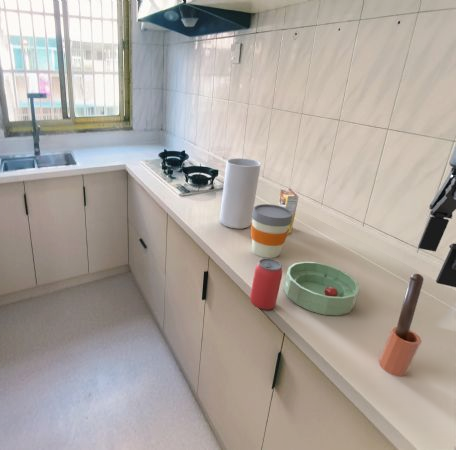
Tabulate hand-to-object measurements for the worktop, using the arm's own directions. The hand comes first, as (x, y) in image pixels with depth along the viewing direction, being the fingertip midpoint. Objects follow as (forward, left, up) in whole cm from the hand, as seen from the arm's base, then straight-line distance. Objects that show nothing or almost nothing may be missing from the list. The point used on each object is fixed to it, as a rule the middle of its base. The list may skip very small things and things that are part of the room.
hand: (435, 265), depth 60 cm
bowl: (+15, -20, -25) cm, 35 cm away
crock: (0, 0, -25) cm, 25 cm away
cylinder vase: (+47, -59, -25) cm, 79 cm away
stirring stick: (0, 0, -24) cm, 24 cm away
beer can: (+28, -10, -25) cm, 39 cm away
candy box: (+29, -63, -25) cm, 74 cm away
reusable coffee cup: (+32, -40, -25) cm, 57 cm away
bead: (+12, -20, -23) cm, 32 cm away
